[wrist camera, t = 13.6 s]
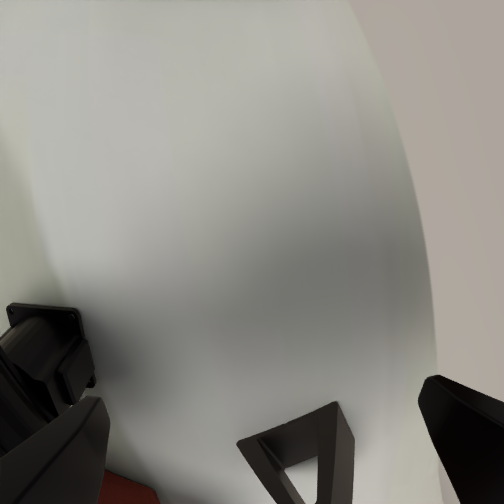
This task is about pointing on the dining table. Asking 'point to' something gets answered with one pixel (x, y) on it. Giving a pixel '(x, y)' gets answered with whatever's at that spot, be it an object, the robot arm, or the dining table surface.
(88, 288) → the dining table surface
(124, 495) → the plant pot
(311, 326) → the dining table surface
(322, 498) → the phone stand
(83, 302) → the dining table surface
